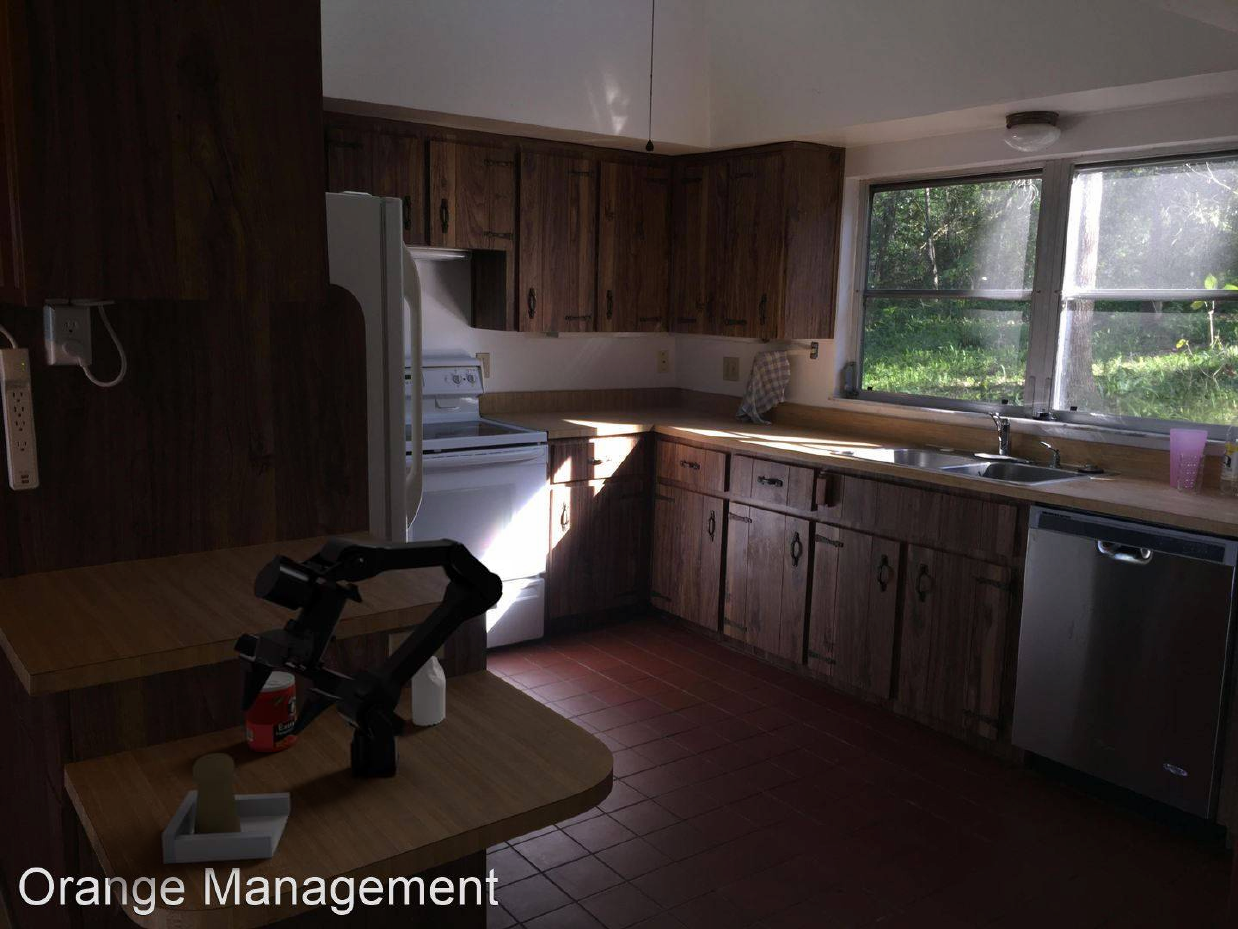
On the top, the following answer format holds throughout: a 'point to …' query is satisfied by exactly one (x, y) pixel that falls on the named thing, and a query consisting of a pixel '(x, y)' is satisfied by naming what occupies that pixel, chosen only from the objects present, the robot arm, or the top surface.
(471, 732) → the top surface
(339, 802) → the top surface
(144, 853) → the top surface
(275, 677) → the canned food
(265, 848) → the shallow grey tray
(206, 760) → the olive rounded tall piece
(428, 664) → the white milk jug
